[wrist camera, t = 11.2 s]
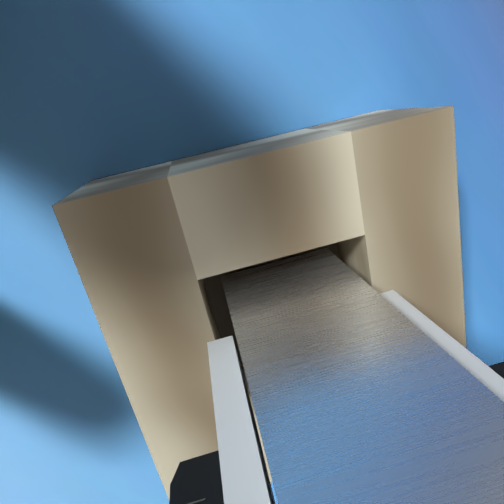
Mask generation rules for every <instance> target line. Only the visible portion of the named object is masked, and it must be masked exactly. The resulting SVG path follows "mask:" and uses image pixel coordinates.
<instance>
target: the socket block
mask: <svg viewBox="0 0 504 504" xmlns="http://www.w3.org/2000/svg"><path fill="white" fill-rule="evenodd" d="M52 207H53V210H54V212H55V215H56V217H57V220H58V222H59V225H60V227H61V230H62V232H63V235H64V238H65V240H66V243H67V245H68V248H69V250H70V253H71V255H72V258H73V260H74V263H75V265H76V268H77V270H78V273H79V275H80V278H81V280H82V283H83V285H84V288H85V290H86V293H87V295H88V298H89V300H90V303H91V305H92V308H93V310H94V313H95V315H96V318H97V320H98V323H99V325H100V328H101V330H102V333H103V335H104V338H105V340H106V343H107V345H108V348H109V350H110V353H111V355H112V358H113V360H114V363H115V365H116V368H117V370H118V373H119V376H120V378H121V381H122V383H123V386H124V388H125V391H126V393H127V396H128V398H129V401H130V403H131V406H132V408H133V411H134V413H135V416H136V418H137V421H138V423H139V426H140V428H141V431H142V433H143V436H144V438H145V441H146V443H147V446H148V448H149V451H150V453H151V456H152V458H153V461H154V463H155V466H156V468H157V471H158V473H159V476H160V478H161V481H162V483H163V486H164V488H165V491H166V493H167V496H168V498H169V501H170V484H171V481H172V479H173V477H174V475H175V472H176V470H177V468H178V465H179V463H180V462H182V461H185V460H188V459H191V458H195V457H198V456H201V455H204V454H208V453H211V452H214V451H218V441H217V432H216V422H215V413H214V403H213V394H212V384H211V375H210V366H209V356H208V347H207V342H211V341H214V340H218V339H221V338H225V337H228V336H233V340H234V344H235V347H236V351H237V354H238V358H239V362H240V365H241V369H242V373H243V376H244V380H245V383H246V387H247V391H248V394H249V398H250V402H251V405H252V409H253V413H254V417H255V421H256V425H257V430H258V434H259V438H260V442H261V446H262V450H263V455H264V459H265V463H266V467H267V471H268V475H269V480H270V482H273V481H272V477H271V473H270V469H269V465H268V462H267V458H266V454H265V450H264V446H263V442H262V438H261V434H260V430H259V426H258V422H257V418H256V414H255V410H254V406H253V402H252V398H251V394H250V390H249V386H248V382H247V378H246V375H245V371H244V367H243V363H242V359H241V355H240V351H239V347H238V343H237V339H236V335H235V331H234V327H233V323H232V319H231V315H230V311H229V307H228V303H227V299H226V295H225V292H224V288H223V284H222V280H221V277H222V276H225V275H229V274H233V273H236V272H240V271H244V270H247V269H251V268H255V267H258V266H262V265H266V264H269V263H273V262H277V261H280V260H284V259H288V258H291V257H295V256H299V255H302V254H306V253H310V252H313V251H317V250H321V249H324V248H327V249H329V250H330V251H331V252H332V253H333V254H334V255H335V256H337V257H338V258H339V259H340V260H341V261H342V262H343V263H345V264H346V265H347V266H348V267H349V268H350V269H352V270H353V271H354V272H355V273H356V274H357V275H358V276H360V277H361V278H362V279H363V280H364V281H365V282H366V283H368V284H369V285H370V286H371V287H372V288H373V289H375V290H376V291H377V292H378V293H379V294H380V293H384V292H387V291H391V290H394V291H395V292H396V293H398V294H399V295H400V296H401V297H403V298H404V299H405V300H406V301H408V302H409V303H410V304H411V305H413V306H414V307H415V308H416V309H418V310H419V311H420V312H421V313H423V314H424V315H425V316H426V317H428V318H429V319H430V320H431V321H433V322H434V323H435V324H436V325H437V326H439V327H440V328H441V329H442V330H444V331H445V332H446V333H447V334H449V335H450V336H451V337H452V338H454V339H455V340H456V341H457V342H459V343H460V344H461V345H462V346H464V347H465V348H466V332H465V313H464V294H463V275H462V256H461V238H460V219H459V200H458V181H457V162H456V144H455V125H454V106H445V107H427V108H410V109H392V110H378V111H373V112H369V113H365V114H361V115H357V116H353V117H349V118H345V119H341V120H337V121H333V122H329V123H325V124H320V125H316V126H312V127H308V128H304V129H300V130H296V131H292V132H288V133H284V134H280V135H276V136H272V137H267V138H263V139H259V140H255V141H251V142H247V143H243V144H239V145H235V146H231V147H227V148H223V149H219V150H214V151H210V152H206V153H202V154H198V155H194V156H190V157H186V158H182V159H178V160H174V161H170V162H166V163H161V164H157V165H153V166H149V167H145V168H141V169H137V170H133V171H129V172H125V173H121V174H117V175H113V176H108V177H104V178H100V179H96V180H92V181H90V182H88V183H87V184H85V185H83V186H82V187H80V188H79V189H77V190H76V191H74V192H72V193H71V194H69V195H68V196H66V197H65V198H63V199H62V200H60V201H58V202H57V203H55V204H54V205H52Z"/></svg>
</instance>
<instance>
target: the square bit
mask: <svg viewBox="0 0 504 504" xmlns="http://www.w3.org/2000/svg"><path fill="white" fill-rule="evenodd" d="M221 280H222V284H223V288H224V292H225V295H226V299H227V303H228V307H229V311H230V315H231V319H232V323H233V327H234V331H235V335H236V339H237V343H238V347H239V351H240V355H241V359H242V363H243V367H244V371H245V375H246V378H247V382H248V386H249V390H250V394H251V398H252V402H253V406H254V410H255V414H256V418H257V422H258V426H259V430H260V434H261V438H262V442H263V446H264V450H265V454H266V458H267V462H268V465H269V469H270V473H271V477H272V481H273V485H274V489H275V493H276V497H277V501H278V504H504V402H503V401H502V400H501V399H500V398H499V397H497V396H496V395H495V394H494V393H493V392H492V391H491V390H489V389H488V388H487V387H486V386H485V385H484V384H483V383H481V382H480V381H479V380H478V379H477V378H476V377H475V376H473V375H472V374H471V373H470V372H469V371H468V370H466V369H465V368H464V367H463V366H462V365H461V364H460V363H458V362H457V361H456V360H455V359H454V358H453V357H452V356H450V355H449V354H448V353H447V352H446V351H445V350H443V349H442V348H441V347H440V346H439V345H438V344H437V343H435V342H434V341H433V340H432V339H431V338H430V337H429V336H427V335H426V334H425V333H424V332H423V331H422V330H420V329H419V328H418V327H417V326H416V325H415V324H414V323H412V322H411V321H410V320H409V319H408V318H407V317H406V316H404V315H403V314H402V313H401V312H400V311H399V310H397V309H396V308H395V307H394V306H393V305H392V304H391V303H389V302H388V301H387V300H386V299H385V298H384V297H383V296H381V295H380V294H379V293H378V292H377V291H376V290H375V289H373V288H372V287H371V286H370V285H369V284H368V283H366V282H365V281H364V280H363V279H362V278H361V277H360V276H358V275H357V274H356V273H355V272H354V271H353V270H352V269H350V268H349V267H348V266H347V265H346V264H345V263H343V262H342V261H341V260H340V259H339V258H338V257H337V256H335V255H334V254H333V253H332V252H331V251H330V250H329V249H327V248H324V249H321V250H317V251H313V252H310V253H306V254H302V255H299V256H295V257H291V258H288V259H284V260H280V261H277V262H273V263H269V264H266V265H262V266H258V267H255V268H251V269H247V270H244V271H240V272H236V273H233V274H229V275H225V276H222V277H221Z"/></svg>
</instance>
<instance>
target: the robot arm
mask: <svg viewBox="0 0 504 504" xmlns="http://www.w3.org/2000/svg"><path fill="white" fill-rule="evenodd" d="M380 295H381V296H383V297H384V298H385V299H386V300H387V301H388V302H389V303H391V304H392V305H393V306H394V307H395V308H396V309H397V310H399V311H400V312H401V313H402V314H403V315H404V316H406V317H407V318H408V319H409V320H410V321H411V322H412V323H414V324H415V325H416V326H417V327H418V328H419V329H420V330H422V331H423V332H424V333H425V334H426V335H427V336H429V337H430V338H431V339H432V340H433V341H434V342H435V343H437V344H438V345H439V346H440V347H441V348H442V349H443V350H445V351H446V352H447V353H448V354H449V355H450V356H452V357H453V358H454V359H455V360H456V361H457V362H458V363H460V364H461V365H462V366H463V367H464V368H465V369H466V370H468V371H469V372H470V373H471V374H472V375H473V376H475V377H476V378H477V379H478V380H479V381H480V382H481V383H483V384H484V385H485V386H486V387H487V388H488V389H489V390H491V391H492V392H493V393H494V394H495V395H496V396H497V397H499V398H500V399H501V400H502V401H503V402H504V362H501V363H498V364H494V365H491V366H487V365H486V364H485V363H483V362H482V361H481V360H480V359H478V358H477V357H476V356H475V355H474V354H472V353H471V352H470V351H469V350H467V349H466V348H465V347H464V346H462V345H461V344H460V343H459V342H457V341H456V340H455V339H454V338H452V337H451V336H450V335H449V334H447V333H446V332H445V331H444V330H442V329H441V328H440V327H439V326H437V325H436V324H435V323H434V322H433V321H431V320H430V319H429V318H428V317H426V316H425V315H424V314H423V313H421V312H420V311H419V310H418V309H416V308H415V307H414V306H413V305H411V304H410V303H409V302H408V301H406V300H405V299H404V298H403V297H401V296H400V295H399V294H398V293H396V292H395V291H394V290H391V291H387V292H384V293H380ZM207 347H208V356H209V366H210V375H211V384H212V394H213V403H214V413H215V422H216V432H217V441H218V451H214V452H211V453H208V454H204V455H201V456H198V457H195V458H191V459H188V460H185V461H182V462H180V463H179V465H178V468H177V470H176V472H175V475H174V477H173V479H172V481H171V484H170V502H169V504H275V500H274V496H273V492H272V488H271V484H270V480H269V475H268V471H267V467H266V463H265V459H264V455H263V450H262V446H261V442H260V438H259V434H258V430H257V425H256V421H255V417H254V413H253V409H252V405H251V402H250V398H249V394H248V391H247V387H246V383H245V380H244V376H243V373H242V369H241V365H240V362H239V358H238V354H237V351H236V347H235V344H234V340H233V336H228V337H225V338H221V339H218V340H214V341H211V342H207Z"/></svg>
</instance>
